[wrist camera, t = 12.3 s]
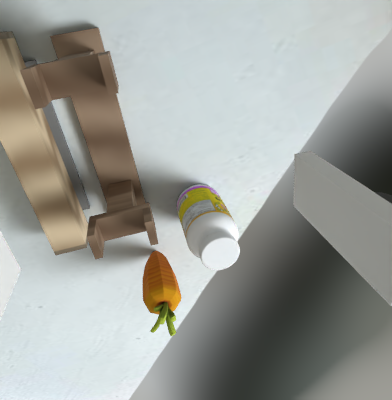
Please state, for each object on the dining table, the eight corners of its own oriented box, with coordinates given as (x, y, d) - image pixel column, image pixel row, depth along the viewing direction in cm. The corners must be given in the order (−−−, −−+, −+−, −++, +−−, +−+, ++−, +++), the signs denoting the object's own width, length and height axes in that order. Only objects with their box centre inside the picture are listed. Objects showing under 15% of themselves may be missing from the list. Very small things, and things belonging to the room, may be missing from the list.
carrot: (170, 263, 52) (186, 340, 39) (139, 265, 51) (145, 346, 38) (171, 238, 50) (189, 311, 37) (139, 239, 49) (145, 316, 36)
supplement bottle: (223, 213, 50) (252, 266, 39) (182, 227, 49) (200, 284, 38) (213, 176, 46) (242, 222, 35) (170, 190, 46) (185, 242, 35)
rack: (43, 37, 34) (8, 41, 24) (106, 26, 35) (100, 25, 24) (105, 215, 46) (100, 273, 35) (152, 204, 46) (161, 257, 36)
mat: (-21, 70, 34) (-24, 70, 34) (35, 60, 35) (34, 60, 35) (46, 216, 44) (45, 218, 43) (90, 206, 45) (89, 208, 44)
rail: (-29, 38, 33) (-49, 40, 29) (11, 31, 33) (-3, 31, 29) (61, 235, 45) (55, 255, 41) (89, 228, 46) (86, 247, 42)
